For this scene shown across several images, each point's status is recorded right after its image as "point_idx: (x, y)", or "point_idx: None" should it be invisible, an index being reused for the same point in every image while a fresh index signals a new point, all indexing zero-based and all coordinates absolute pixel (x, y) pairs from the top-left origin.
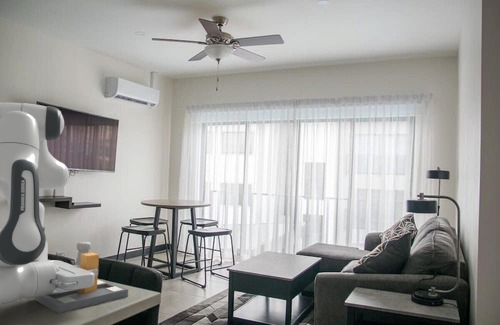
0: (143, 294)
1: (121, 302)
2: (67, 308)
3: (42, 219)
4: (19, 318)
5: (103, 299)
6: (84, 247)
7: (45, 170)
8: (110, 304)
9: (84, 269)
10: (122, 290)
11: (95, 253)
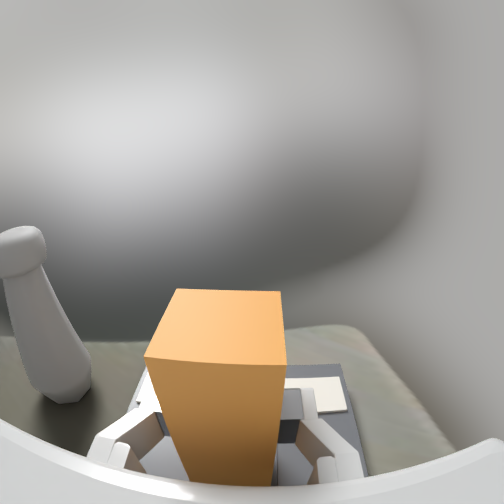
0: (342, 346)
1: (389, 418)
2: None
3: None
4: None
5: None
6: (27, 258)
7: None
8: (392, 453)
9: (384, 478)
10: (342, 381)
11: (223, 291)
